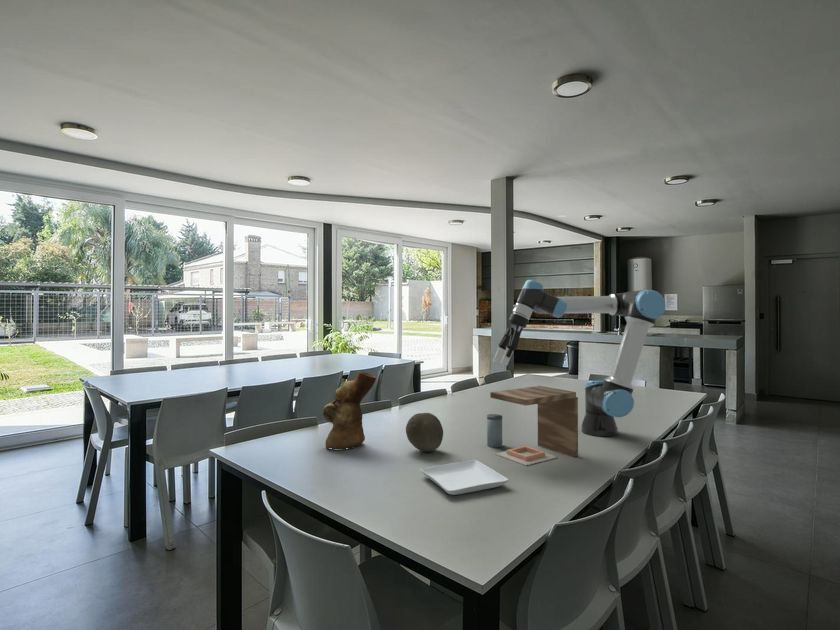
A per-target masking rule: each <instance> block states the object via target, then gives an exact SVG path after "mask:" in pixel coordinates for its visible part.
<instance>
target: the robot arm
mask: <svg viewBox="0 0 840 630" xmlns="http://www.w3.org/2000/svg"><path fill="white" fill-rule="evenodd" d="M543 288H544V285H543V284H542V283H541V282H539V281H536V280H535V279H534V280H533V279H528V280H526V281H525V282H524V284H523V286H522V288H521V290H520V293H519V295H518V298H517V300H516V302H515V304H513V306H512V307H513V308H512V313H510V316H509V318H508V322H509V324H511V325H508V327H507V329H506V331H505V333H504V335H503V337H502V338H501V340H500V341H499V343H498V348H497V350H496V352H495V356H494V358H493V359H492V362H494V363H496V364H502V365H504V366H508V365H509V362H510V360H511V358H512V356H513V353H514V351H515V350H516V349H518V345H519V341H520V338H521V334H522V332H523V330H524V329H526V327H527V325H528V323H529V319H530V318H531V316H532V314H533V312H534V313H536V314H537V315H550V316H552V317H555V318H557V319H559V318H562V317H563V316H564V315H565V314H609V315H610V316H618V317H619V316H620V317H624V320H625V322H626V325H625V328H624V331H623V334H622V337H621V341H620V343H619V347H618V350H617V351H616V352H617V353H616V356H615V359H614V362H613V365H612V368H611V372H610V374H609V376H608V377H605V378H604V379H603V380H587V381H586V382H585V385H584V386H585V387H584V392H585V395H584V396H585V397H584V400H585V406H584V407H585V414H584V418H583V419H582V420H583V421H582V424H581V432H582V433H583V434H585V435H590V436H596V437H614V436H615V437H616V436H617V435H618V434H619V428H618V426H617V422H616V420H615V418H623V417H626V416H627V415H630V413H631V412H632V411H633V409H634V405H635V401H634V400H635V399H634V396H633V392H634V387H633V385H632V381H633V378H634V375H635V372H636V370H637V367H638V366H637V365H638V363H639V361H640V356H641V354H642V350H643V348H644V344H645V341H646V339H647V335H648V332H649V330H650V328H652V327H654V326H655V325H656V321H657V318H660V317H661V316H663V314H664V313H665V311H666V300H665V299H664V297H663V295H662V294H661V293H660V292H659V291H656V290H653V289H641V290H632V291H626V292H620V293H610V294H609V295H602V296H601V295H593V296H592V295H591V296H589V295H588V296H586V295H585V296H584V295H583V296H581V295H580V296H575V295H574V296H573V295H571V296H554V295H553V294H550V293H548V292H546V291H545V290H543ZM530 320H531V319H530Z"/></svg>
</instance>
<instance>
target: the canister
mask: <svg viewBox="0 0 840 630" xmlns="http://www.w3.org/2000/svg"><path fill="white" fill-rule="evenodd" d="M486 420H487V421H486V422H487V423H486V429H487V430H486V431H487V432H486V435H487V438H486V439H487V441H486V442H487V447H489V448H493V447H494V448H493V449H495V448H496V449H497V448H498V447H499V448H502V447H503V415H501V414H498V413H495V414H494V413H490V414H486ZM499 448H498V449H499Z"/></svg>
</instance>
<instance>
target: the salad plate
mask: <svg viewBox="0 0 840 630" xmlns="http://www.w3.org/2000/svg"><path fill="white" fill-rule="evenodd" d="M420 471H421V473H422V474H423V475H424V476H425V477H426V478H428V479H429V480H431V481H432V482H433V483H435V484H436V485H437V486H439V487H440V488H441V489H442V490H444V492H445V493H447V494H448V495H451V496H455V495H456V496H457V495H464V494H468V493H469V494H470V493H474V492H479V491H484V490H488V489H489V490H490V489H493V488H498V487H501V486H503V485H505V484H506V483H508V481H509V478H508V477H506V476H504V475H502V474H500V473H499V472H498V471H497V470H496V471H495V470H494V469H492V468H491V467H489V466H487V465H485V464H484V463H482V462H480V461H479V460H477V459H470V460H463V461H457V462H452V463H451V462H450V463H444V464H440V465H433V466H429V467H428V466H427V467H424V468H420Z"/></svg>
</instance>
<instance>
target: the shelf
mask: <svg viewBox="0 0 840 630" xmlns="http://www.w3.org/2000/svg"><path fill="white" fill-rule="evenodd" d="M489 395H490V399H494V400H495V399H496V400H500V401H503V402H508V403H512V404H517V405H522V406H525V407H526V406H533V405H537V446H538V447H541V448H544V449H548V450H551V451H553V450H554V452H557V453H561V454H564V455H566V454H567V456H569V455H570V457H573V458H577V457H579V397H578V396H577V392H576V391H571V390H566V389H559V388H554V387H548V386H541V385H535V386H529V387H521V388H514V389H513V388H512V389H505V390H498V391H490V394H489ZM576 456H577V457H576Z"/></svg>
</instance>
